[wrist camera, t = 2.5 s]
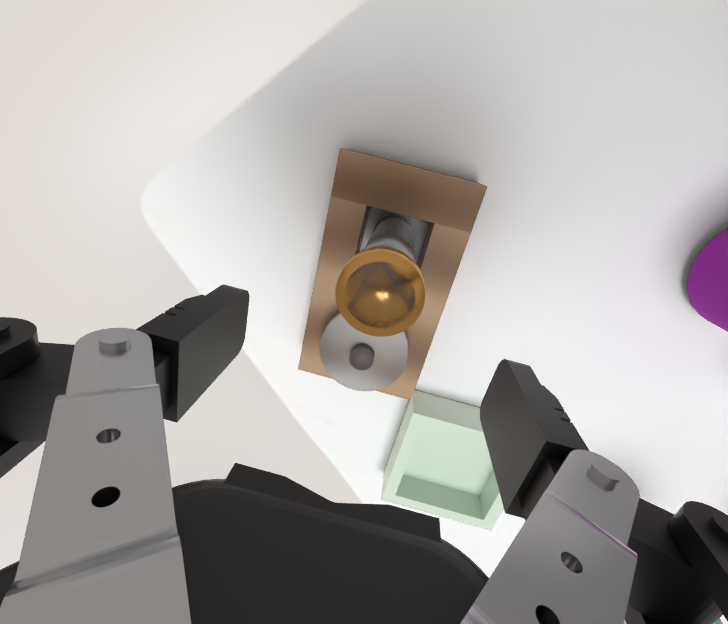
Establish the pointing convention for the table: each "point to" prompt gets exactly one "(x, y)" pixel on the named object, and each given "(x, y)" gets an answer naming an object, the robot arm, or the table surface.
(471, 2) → the table surface
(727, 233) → the beverage can
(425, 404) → the tray
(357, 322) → the pin
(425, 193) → the block
